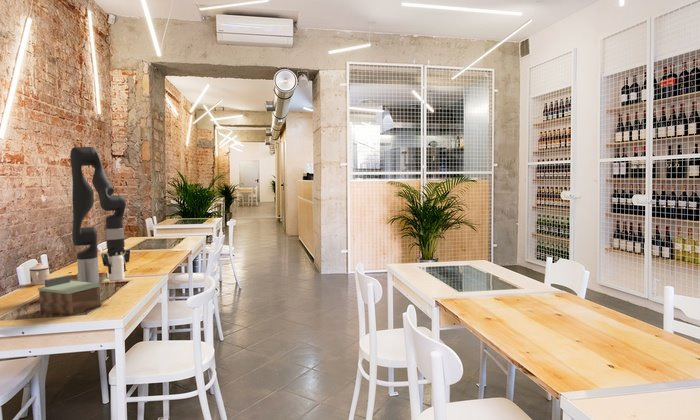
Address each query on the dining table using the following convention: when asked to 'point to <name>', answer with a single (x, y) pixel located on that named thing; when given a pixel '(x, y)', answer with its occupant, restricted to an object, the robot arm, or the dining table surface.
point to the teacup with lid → (39, 274)
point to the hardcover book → (101, 277)
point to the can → (116, 268)
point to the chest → (70, 301)
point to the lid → (66, 285)
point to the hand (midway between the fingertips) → (117, 273)
